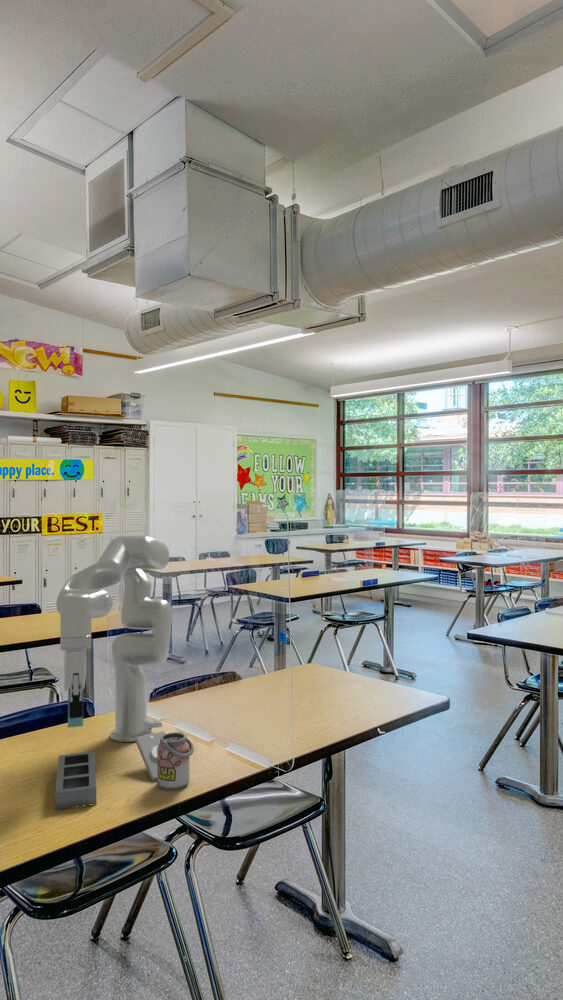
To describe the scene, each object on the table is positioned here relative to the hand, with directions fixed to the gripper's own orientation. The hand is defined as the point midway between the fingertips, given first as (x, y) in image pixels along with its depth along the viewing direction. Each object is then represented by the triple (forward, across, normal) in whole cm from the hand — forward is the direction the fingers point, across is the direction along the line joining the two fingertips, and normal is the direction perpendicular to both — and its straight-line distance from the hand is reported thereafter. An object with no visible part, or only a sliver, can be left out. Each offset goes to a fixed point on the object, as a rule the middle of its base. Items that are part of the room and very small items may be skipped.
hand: (76, 714), depth 159 cm
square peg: (+3, 0, 0) cm, 3 cm away
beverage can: (+18, +7, +24) cm, 31 cm away
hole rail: (+18, 0, 0) cm, 18 cm away
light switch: (+18, -4, +21) cm, 28 cm away
